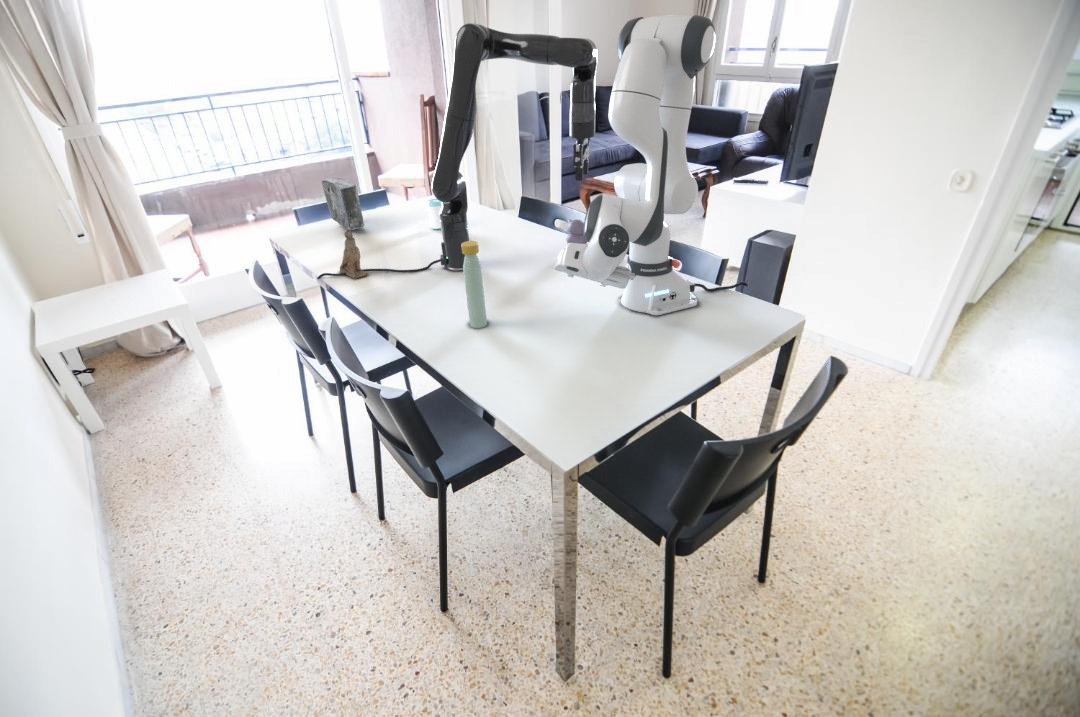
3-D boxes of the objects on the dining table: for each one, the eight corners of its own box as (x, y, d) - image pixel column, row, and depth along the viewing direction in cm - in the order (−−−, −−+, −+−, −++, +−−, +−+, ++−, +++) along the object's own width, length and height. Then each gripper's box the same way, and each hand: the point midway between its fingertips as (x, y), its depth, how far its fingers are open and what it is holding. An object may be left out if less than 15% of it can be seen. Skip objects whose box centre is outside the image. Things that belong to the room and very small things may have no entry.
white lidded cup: (445, 229, 220) (441, 202, 214) (429, 230, 220) (425, 202, 214) (447, 224, 226) (444, 198, 220) (432, 225, 226) (428, 198, 220)
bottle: (468, 328, 140) (458, 248, 128) (472, 320, 144) (462, 242, 132) (485, 328, 139) (476, 248, 127) (488, 320, 143) (480, 242, 131)
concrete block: (369, 232, 221) (359, 185, 210) (349, 236, 216) (338, 189, 206) (350, 219, 239) (340, 176, 229) (331, 223, 235) (320, 179, 225)
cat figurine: (592, 250, 190) (592, 219, 184) (579, 256, 185) (579, 224, 179) (574, 246, 195) (575, 215, 189) (561, 251, 191) (561, 220, 184)
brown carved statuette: (368, 281, 178) (362, 235, 166) (353, 285, 175) (347, 238, 163) (352, 266, 184) (346, 221, 172) (338, 270, 181) (331, 224, 169)
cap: (460, 255, 129) (459, 246, 128) (464, 249, 132) (463, 240, 131) (476, 255, 128) (476, 246, 127) (480, 249, 132) (479, 240, 131)
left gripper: (574, 116, 152) (574, 172, 160) (564, 122, 140) (564, 182, 149) (599, 116, 150) (597, 172, 158) (590, 122, 138) (589, 182, 147)
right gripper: (639, 262, 127) (624, 278, 140) (562, 240, 125) (555, 258, 139) (634, 285, 126) (619, 299, 139) (556, 263, 124) (549, 279, 138)
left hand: (581, 177), depth 154 cm, fingers open, 8 cm apart
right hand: (586, 279), depth 139 cm, fingers open, 8 cm apart
